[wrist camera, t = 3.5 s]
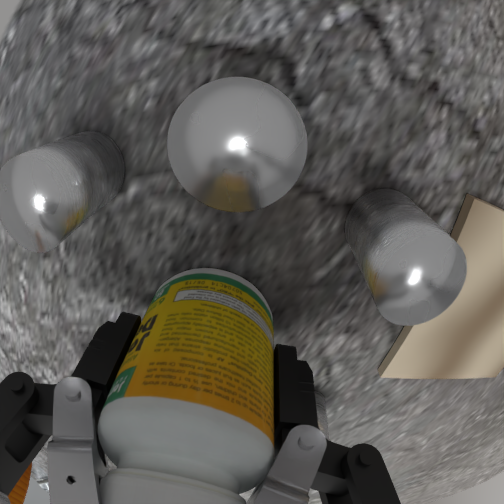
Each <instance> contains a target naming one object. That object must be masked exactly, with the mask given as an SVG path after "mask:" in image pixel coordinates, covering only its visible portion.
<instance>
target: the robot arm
mask: <svg viewBox="0 0 504 504" xmlns="http://www.w3.org/2000/svg"><path fill="white" fill-rule="evenodd" d="M140 324H141V317H140V316H138V315H134V314H130V313H126V312H122V313H121V314H120V316H119V317H118V319H117V321H116V323H114V322H110V321H107V322H106V323H105V324H103V325H102V326H101V327H99V328H98V330H97V331H96V333H95V335H94V337H93V340H91V342H90V343H89V346H88V347H87V349H86V351H85V352H84V354H83V356H82V358H81V359H80V361H79V363H78V365H77V367H76V369H75V370H74V372H73V374H72V376H71V377H67V378H64V379H62V380H61V381H59V382H58V384H39V383H34V381H33V379H32V378H31V377H30V376H29V375H28V374H26V373H23V372H14V373H12V374H10V375H8V376H7V377H6V378H5V379H4V380H3V381H2V382H1V383H0V504H11V503H10V500H9V498H8V495H9V494H10V492H11V491H12V489H13V488H14V486H15V485H16V484H17V482H18V481H19V479H20V478H21V476H22V475H23V474H24V472H25V471H26V469H27V468H28V466H29V465H30V464H31V462H32V461H33V459H34V458H35V457H36V455H37V454H38V453H39V451H40V450H41V448H42V447H43V446H44V444H45V443H46V442H47V440H48V439H49V437H50V436H51V435H53V438H52V441H49V443H48V446H47V462H48V482H49V495H50V504H102V500H101V493H100V487H99V486H100V481H101V479H102V478H103V477H105V476H106V474H107V473H108V472H109V467H108V460H107V455H106V454H105V452H104V451H103V449H102V446H101V444H100V441H99V438H98V421H99V418H100V415H101V412H102V409H103V407H104V404H105V402H106V400H107V397H108V395H109V392H110V390H111V388H112V386H113V383H114V381H115V379H116V376H117V374H118V372H119V370H120V367H121V365H122V363H123V361H124V359H125V356H126V354H127V352H128V350H129V348H130V346H131V343H132V341H133V339H134V337H135V335H136V333H137V331H138V329H139V327H140ZM313 383H314V381H313V372H312V370H311V368H310V367H309V365H308V363H307V362H306V361H301V360H297V351H296V347H294V346H288V345H281V344H277V345H276V347H275V349H274V460H273V464H272V465H271V467H270V469H269V471H268V473H267V475H266V477H265V479H264V480H263V481H262V482H261V483H260V484H258V485H257V486H256V487H255V489H254V491H253V493H252V494H251V496H250V498H249V500H248V501H247V503H246V504H308V502H309V496H308V493H309V490H310V488H311V489H314V490H317V491H319V494H320V497H321V501H322V504H401V503H400V500H399V498H398V495H397V493H396V490H395V488H394V485H393V483H392V480H391V478H390V475H389V473H388V471H387V468H386V466H385V463H384V461H383V458H382V456H381V454H380V452H379V451H378V450H377V449H376V448H375V447H373V446H372V445H369V444H363V443H362V444H357V445H355V446H353V447H352V448H349V447H345V446H342V445H339V444H336V443H333V442H331V441H329V440H328V439H327V438H326V437H325V436H324V434H323V433H322V432H321V431H320V429H319V426H318V418H317V408H316V399H315V393H314V392H315V390H314V385H313Z"/></svg>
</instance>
